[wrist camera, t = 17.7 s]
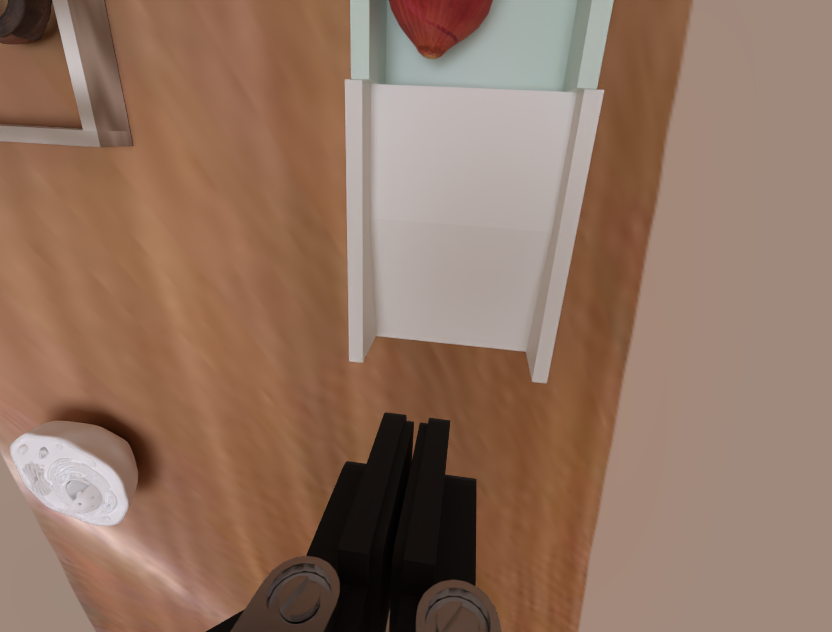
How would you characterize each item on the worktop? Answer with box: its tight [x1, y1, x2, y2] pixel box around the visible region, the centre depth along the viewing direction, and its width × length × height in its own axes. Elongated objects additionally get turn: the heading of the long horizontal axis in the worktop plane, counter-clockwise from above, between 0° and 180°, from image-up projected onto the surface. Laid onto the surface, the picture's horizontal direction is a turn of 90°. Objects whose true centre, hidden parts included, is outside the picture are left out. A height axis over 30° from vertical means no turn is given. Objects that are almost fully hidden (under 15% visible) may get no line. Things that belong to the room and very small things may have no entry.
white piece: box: [345, 79, 604, 383], centre depth 29 cm, size 18×14×6 cm
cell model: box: [10, 421, 138, 526], centre depth 42 cm, size 10×12×7 cm
